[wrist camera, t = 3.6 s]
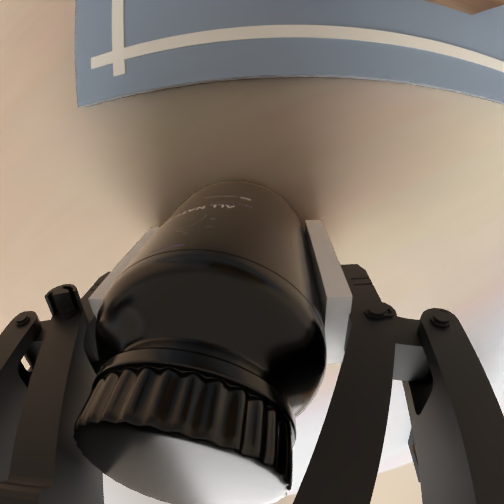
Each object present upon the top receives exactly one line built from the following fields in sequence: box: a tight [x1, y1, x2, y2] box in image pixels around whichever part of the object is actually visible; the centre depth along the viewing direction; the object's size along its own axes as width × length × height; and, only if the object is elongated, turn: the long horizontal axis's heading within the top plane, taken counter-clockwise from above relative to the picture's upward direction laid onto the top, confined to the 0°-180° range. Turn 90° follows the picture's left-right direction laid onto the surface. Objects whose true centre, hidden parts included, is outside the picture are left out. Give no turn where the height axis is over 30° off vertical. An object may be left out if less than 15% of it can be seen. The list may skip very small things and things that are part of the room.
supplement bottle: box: [73, 181, 327, 504], centre depth 10 cm, size 7×7×12 cm
